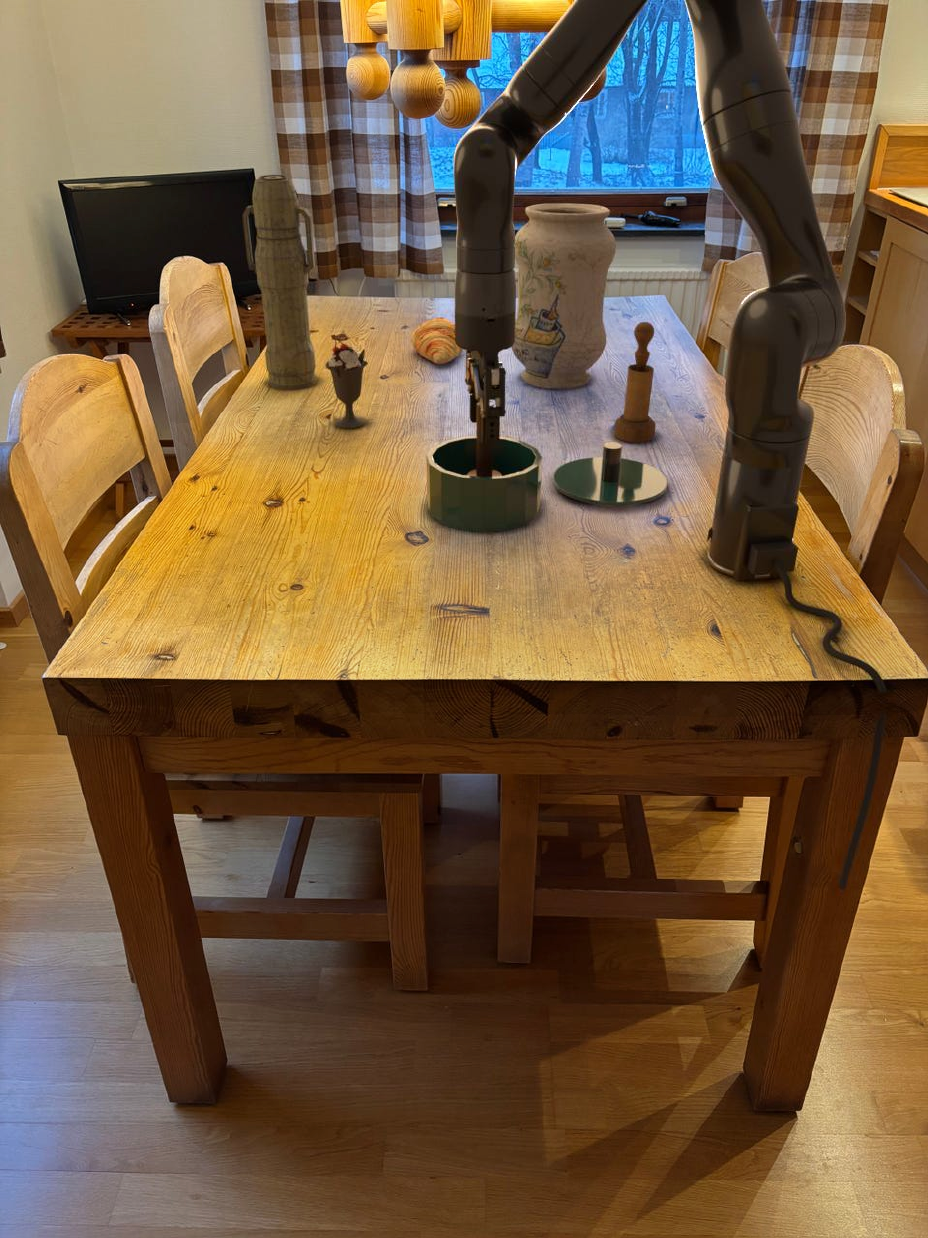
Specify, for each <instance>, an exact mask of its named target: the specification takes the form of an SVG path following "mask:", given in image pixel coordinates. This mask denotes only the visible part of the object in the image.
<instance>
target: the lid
mask: <svg viewBox="0 0 928 1238" xmlns="http://www.w3.org/2000/svg"><path fill="white" fill-rule="evenodd" d="M602 446H603V447H602V456H597V457H595V456H594V457H586V458H580V459H579V458H578V459H575V460H572V461H568V462H566V463H564V464H562V465H560V466H559V467H558V468H557V469H556V470H555V471H554V472H553V477H552V481H553V485H554V487H555V488H556V489H557V490H558V491H559V492H560V493H561V494H563V495H565V496H566V497H569V498H571V499H573V500H576V501H579V502H583V503H586V504H591V505H598V506H607V507H608V506H609V507H628V506H629V507H630V506H637V505H641V504H642V505H643V504H647V503H650V502H652V501H654V500H657V499H659V498H660V497H662V496H663V495H664V494H665V492H666V491H667V488H668V479H667V477H666V476H665V474H664V473H663V472H662V471H660V470H659V469H657V468H655V467H654V466H652V465H650V464H647V463H644V462H641V461H637V460H633V459H627V458H623V457H622V452H623V444H621V443H619V442H614V441H610V442H606V443H604V444H603V445H602Z"/></svg>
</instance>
